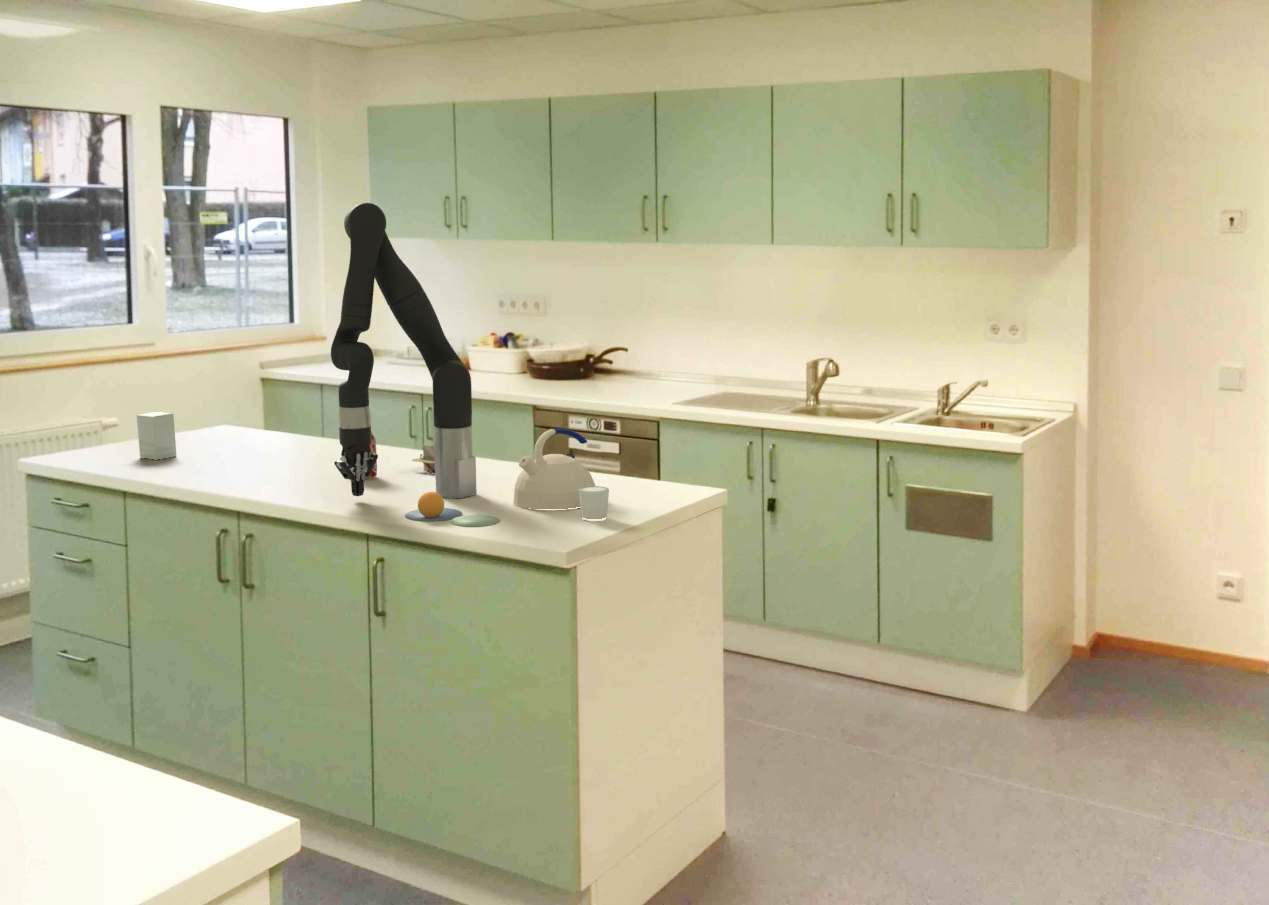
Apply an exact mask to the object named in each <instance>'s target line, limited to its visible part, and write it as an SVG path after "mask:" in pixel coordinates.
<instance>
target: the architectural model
mask: <svg viewBox="0 0 1269 905" xmlns="http://www.w3.org/2000/svg"><path fill="white" fill-rule="evenodd" d="M422 451H423V454H422V453H420V454H419V455H420V456H419V457H417V458H413V459H411V461H412V462H417V463H422V464H423V471H428V470H429V472H430V473H434V472H433V471H435V445H429V444H422Z"/></svg>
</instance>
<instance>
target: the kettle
mask: <svg viewBox="0 0 1269 905" xmlns="http://www.w3.org/2000/svg"><path fill="white" fill-rule="evenodd" d="M557 434H558V435H566V436H569V437H572V438H573V439H575V440H576V441H578V442H579V443H580V444H587V443H588V441H587V439H586V438H585V437H584V436H582V435H581V434H579V433H578V432H576V431H574V430H570V429H566V428H550V429H548V430H546V431H544V432H543V433H542V434H541V435H540V436H539V437H538V439H537V441H536V443H535V446H534V451H533V454H534V455H533V458H534V459H532V457H531V456H530V455H529V454H528V455H523V456H521V458H520V459H519V461H518V462H519V463H518V466H519V467H520V468H521V469H522V471H520V472H519V474H518V476H517V478H516V481H515V484H514V489H513V490H514V493H513V502H512V503H513V504H514V506H516V505H517V506H516V507H518V506H519V507H518V508H521V507H522V508H521V509H525V508H531V509H568V508H576V507H581V505H580V495H579V489H580V488H583V487H591V486H596V484H595V481H594V479H593V477H592V474H591V472H590V471H589V469H587V468H586V465H584V464H582V463H581V462H580V461H578V459H576V458H575V455H574V454H572V453H570V452H569V453H567V454H563V453H549V454H545V455H543V454H544V453H543V449H544V445H545V443H546V441H547V440H548V439H549V438H550V437H551V436H553V435H557Z"/></svg>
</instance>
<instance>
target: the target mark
mask: <svg viewBox="0 0 1269 905" xmlns="http://www.w3.org/2000/svg"><path fill="white" fill-rule="evenodd" d="M404 515H405V516H404V517H405V518H406V519H407V520H411V521H416V522H441V521H442V522H444V521H451V520H452V519H453V518H456V517H459V516H463V512H462V511H461V510H459V509H456V508H455V509H454V508H448V507H444V509H443V511H442V513H441V514H440V515H439V516H437V517H435V518H427V517H425V516H423V515H422V514H421V513H420V511H419V509H418V508H417V509H414V510H410V511H408V512H406V513H405V514H404Z"/></svg>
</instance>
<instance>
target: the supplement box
mask: <svg viewBox="0 0 1269 905" xmlns="http://www.w3.org/2000/svg"><path fill="white" fill-rule="evenodd" d="M174 415H175V414H174V413H171V412H162V411H154V412H146V413H142V414H140V413H139V414H137V415H136V423H137V436H138V447H139V448H138V449H139V450H138V451H139V458H140V457H141V458H140V459H144V458H148V459H147V460H152V459H153V460H154V461H158V459H160V460H164V459H163V458H166V459H170V458H169V457H171V458H174V457H173V456H176V457H177V444H176V442H177V441H176V433H175V432H176V430H175V420H174V419H175V417H174ZM153 460H152V461H153Z"/></svg>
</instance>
